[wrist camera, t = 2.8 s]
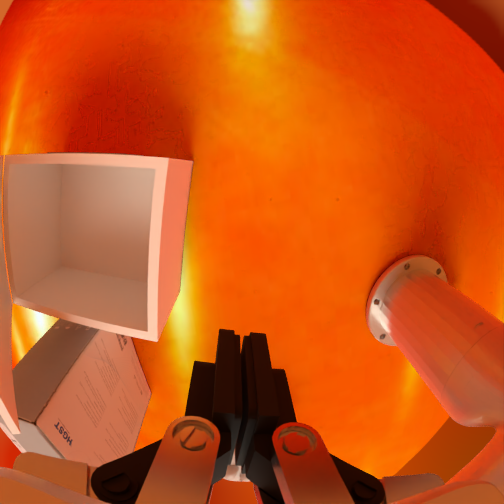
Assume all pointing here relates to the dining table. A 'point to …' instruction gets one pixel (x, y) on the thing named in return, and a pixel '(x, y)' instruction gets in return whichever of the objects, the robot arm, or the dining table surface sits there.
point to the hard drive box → (79, 395)
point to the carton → (96, 237)
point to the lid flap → (6, 339)
